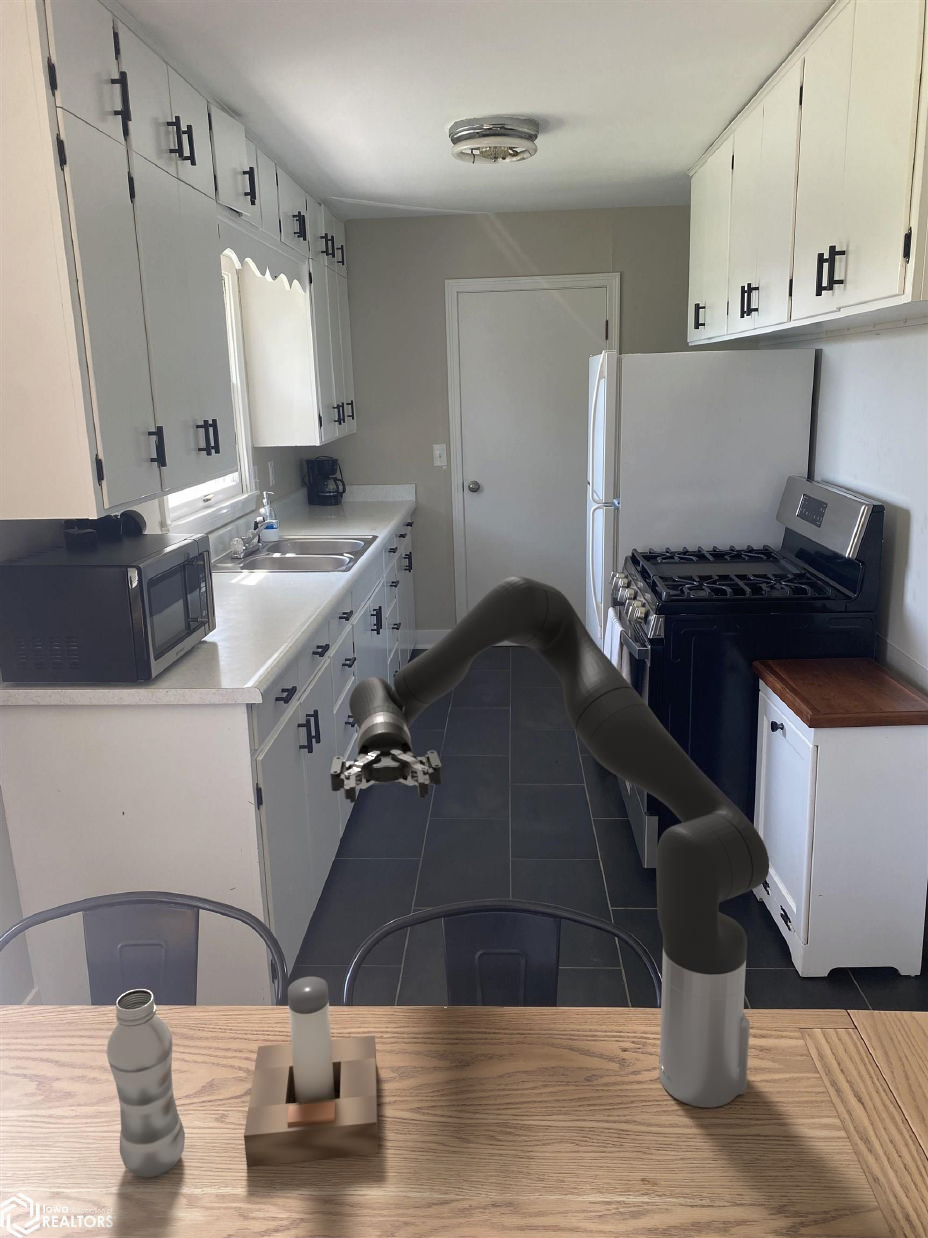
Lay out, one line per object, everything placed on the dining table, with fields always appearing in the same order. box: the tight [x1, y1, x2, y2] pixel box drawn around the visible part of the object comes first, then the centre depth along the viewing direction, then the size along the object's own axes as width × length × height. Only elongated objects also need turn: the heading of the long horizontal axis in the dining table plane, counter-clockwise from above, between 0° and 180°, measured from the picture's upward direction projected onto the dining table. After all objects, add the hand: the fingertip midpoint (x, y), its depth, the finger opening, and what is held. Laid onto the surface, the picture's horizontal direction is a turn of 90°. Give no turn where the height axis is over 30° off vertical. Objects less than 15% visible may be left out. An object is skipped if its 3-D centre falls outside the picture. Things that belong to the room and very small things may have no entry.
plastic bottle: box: [105, 988, 186, 1178], centre depth 98 cm, size 6×7×20 cm
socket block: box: [243, 1035, 379, 1168], centre depth 106 cm, size 14×14×4 cm
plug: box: [287, 976, 336, 1103], centre depth 105 cm, size 4×4×16 cm
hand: (387, 793), depth 115 cm, fingers open, 8 cm apart
